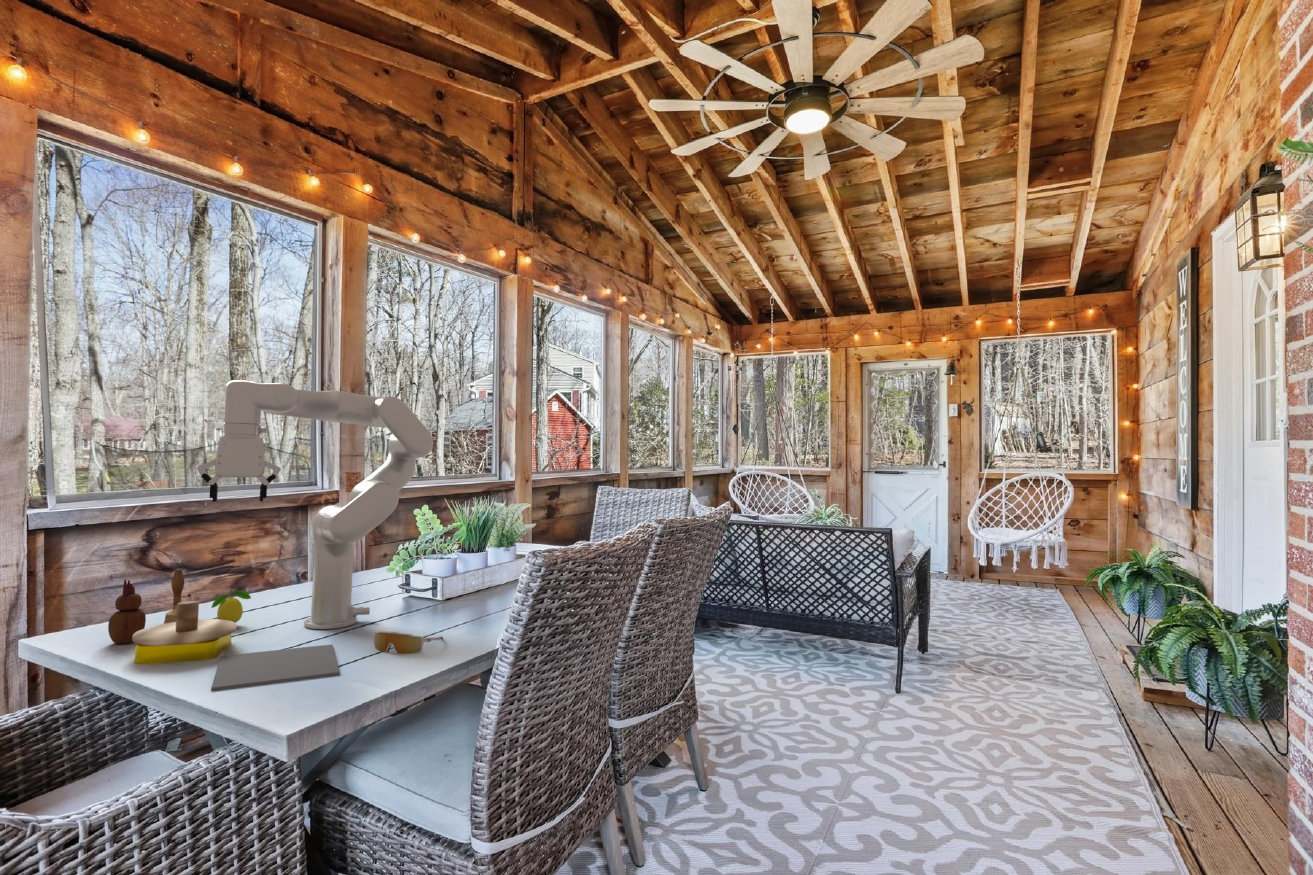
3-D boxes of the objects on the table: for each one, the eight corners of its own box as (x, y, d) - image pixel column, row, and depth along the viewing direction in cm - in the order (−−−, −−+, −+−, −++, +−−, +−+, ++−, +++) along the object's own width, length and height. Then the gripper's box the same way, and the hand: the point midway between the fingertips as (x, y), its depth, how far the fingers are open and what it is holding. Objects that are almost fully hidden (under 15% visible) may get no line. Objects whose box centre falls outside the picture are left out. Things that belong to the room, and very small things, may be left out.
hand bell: (151, 639, 155) (155, 572, 156) (158, 631, 162) (162, 567, 163) (193, 636, 159) (197, 570, 159) (199, 628, 166) (202, 565, 167)
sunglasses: (361, 652, 151) (364, 629, 152) (398, 644, 165) (401, 623, 166) (417, 657, 148) (419, 635, 149) (449, 649, 163) (452, 628, 164)
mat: (332, 646, 154) (332, 644, 154) (339, 674, 135) (339, 671, 135) (220, 658, 143) (220, 655, 143) (211, 690, 124) (211, 687, 124)
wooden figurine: (121, 647, 149) (125, 581, 149) (101, 644, 150) (105, 579, 151) (150, 639, 155) (153, 576, 156) (130, 637, 157) (134, 574, 157)
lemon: (250, 623, 172) (251, 585, 172) (235, 629, 166) (236, 590, 166) (225, 623, 172) (227, 584, 172) (209, 628, 166) (211, 589, 166)
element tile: (158, 647, 151) (159, 626, 151) (233, 642, 156) (234, 622, 156) (130, 666, 137) (132, 643, 137) (213, 661, 142) (215, 639, 142)
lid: (239, 619, 159) (240, 591, 159) (233, 639, 143) (235, 608, 143) (141, 627, 150) (142, 597, 150) (123, 649, 133) (125, 616, 134)
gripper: (282, 433, 167) (279, 500, 167) (200, 430, 159) (197, 500, 158) (282, 432, 161) (279, 502, 160) (197, 429, 152) (193, 502, 152)
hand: (238, 501), depth 159 cm, fingers open, 9 cm apart
